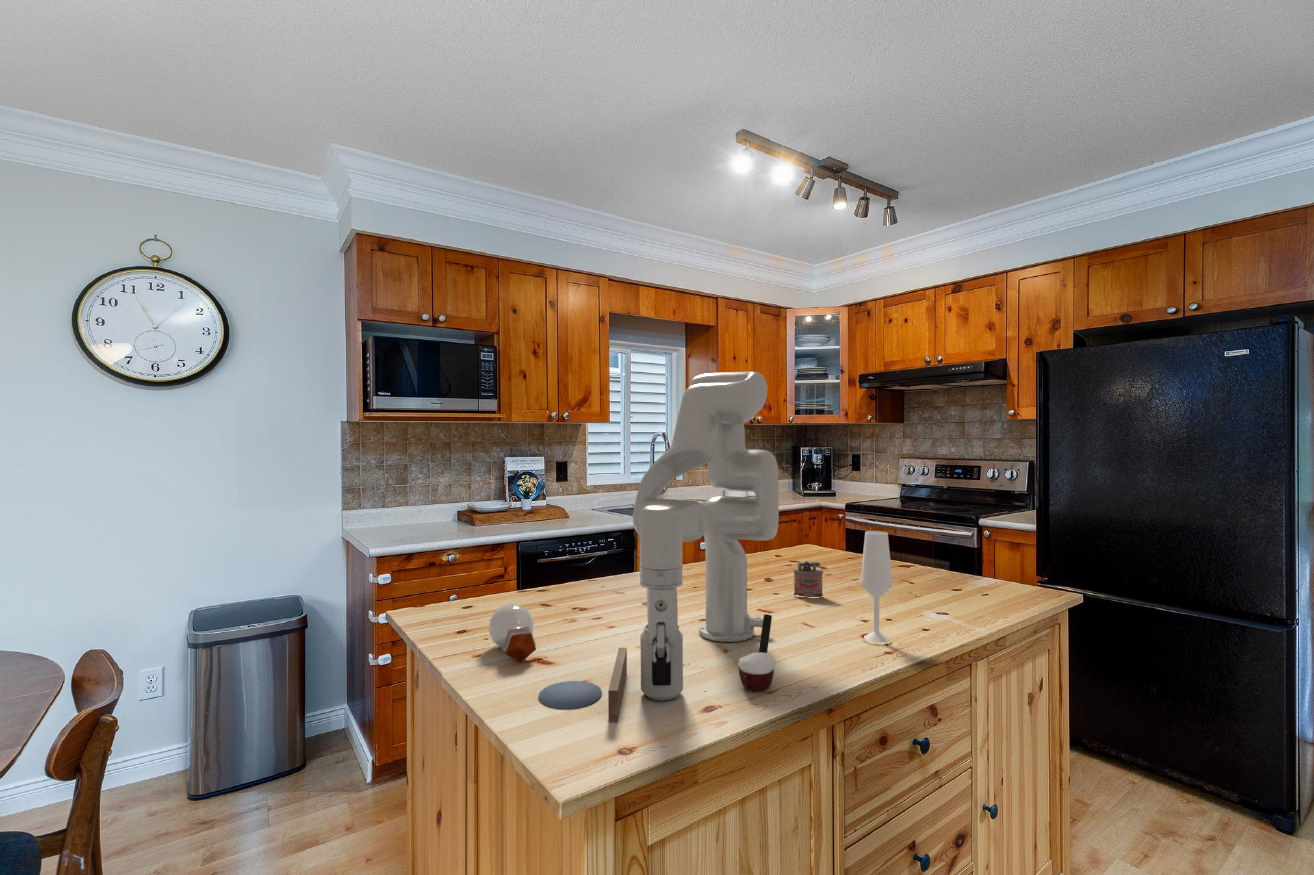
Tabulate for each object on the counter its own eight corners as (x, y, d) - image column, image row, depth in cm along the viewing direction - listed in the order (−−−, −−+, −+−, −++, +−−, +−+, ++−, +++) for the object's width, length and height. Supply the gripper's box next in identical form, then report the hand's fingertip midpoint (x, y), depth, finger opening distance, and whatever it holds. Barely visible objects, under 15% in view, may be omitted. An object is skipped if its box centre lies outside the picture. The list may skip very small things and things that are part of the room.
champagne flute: (885, 647, 133) (885, 536, 133) (855, 640, 138) (855, 533, 138) (897, 640, 138) (897, 532, 138) (868, 633, 143) (868, 529, 143)
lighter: (794, 597, 174) (794, 562, 174) (793, 594, 177) (793, 559, 177) (823, 599, 173) (823, 563, 173) (822, 595, 176) (822, 560, 176)
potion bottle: (511, 645, 140) (526, 676, 126) (476, 625, 136) (487, 655, 122) (536, 610, 141) (553, 637, 128) (501, 589, 137) (515, 615, 124)
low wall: (626, 673, 119) (626, 647, 119) (617, 721, 99) (617, 690, 99) (619, 673, 119) (618, 647, 119) (608, 721, 99) (608, 690, 99)
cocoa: (749, 701, 108) (748, 633, 107) (727, 687, 113) (726, 623, 112) (789, 686, 113) (789, 622, 112) (766, 674, 118) (765, 612, 117)
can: (679, 704, 105) (678, 634, 105) (636, 700, 107) (635, 631, 106) (686, 685, 112) (685, 620, 112) (646, 682, 114) (645, 618, 114)
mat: (604, 682, 115) (604, 681, 115) (597, 709, 104) (597, 707, 104) (545, 682, 115) (545, 680, 115) (532, 708, 104) (532, 706, 104)
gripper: (683, 588, 100) (684, 696, 101) (681, 564, 118) (682, 656, 118) (637, 588, 101) (638, 696, 101) (642, 564, 118) (643, 656, 118)
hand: (661, 674), depth 109 cm, fingers closed on can, 7 cm apart
